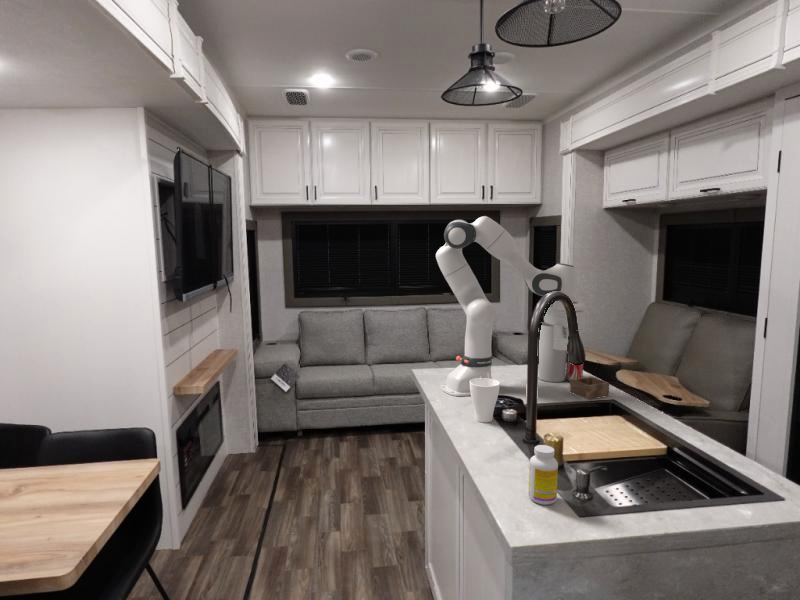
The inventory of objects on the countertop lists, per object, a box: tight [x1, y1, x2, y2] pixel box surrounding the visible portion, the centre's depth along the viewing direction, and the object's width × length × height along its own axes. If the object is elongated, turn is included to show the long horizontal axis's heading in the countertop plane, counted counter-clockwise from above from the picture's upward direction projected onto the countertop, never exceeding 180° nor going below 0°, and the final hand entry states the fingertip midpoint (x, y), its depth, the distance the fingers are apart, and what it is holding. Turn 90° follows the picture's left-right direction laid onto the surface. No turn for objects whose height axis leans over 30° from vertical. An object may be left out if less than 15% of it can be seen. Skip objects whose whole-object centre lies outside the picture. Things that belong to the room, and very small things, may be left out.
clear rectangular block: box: [553, 324, 568, 351], centre depth 203 cm, size 6×4×10 cm, turn 114°
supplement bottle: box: [528, 444, 559, 506], centre depth 122 cm, size 7×7×13 cm
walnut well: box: [569, 376, 610, 400], centre depth 205 cm, size 11×10×6 cm
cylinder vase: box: [538, 321, 568, 383], centre depth 226 cm, size 12×12×25 cm
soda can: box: [565, 360, 584, 382], centre depth 224 cm, size 7×7×13 cm
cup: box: [470, 378, 501, 423], centre depth 175 cm, size 10×10×14 cm
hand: (562, 337), depth 203 cm, fingers closed on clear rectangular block, 4 cm apart
